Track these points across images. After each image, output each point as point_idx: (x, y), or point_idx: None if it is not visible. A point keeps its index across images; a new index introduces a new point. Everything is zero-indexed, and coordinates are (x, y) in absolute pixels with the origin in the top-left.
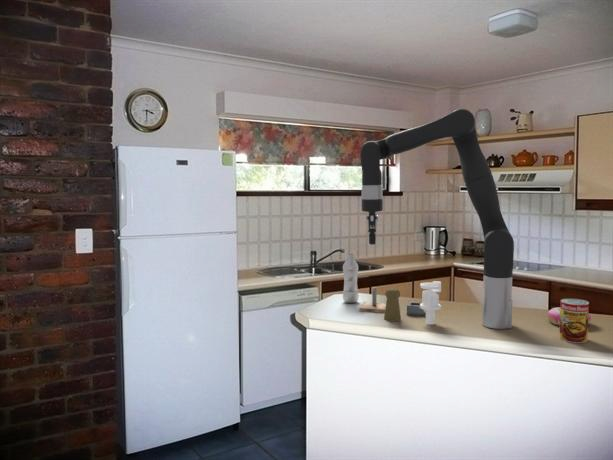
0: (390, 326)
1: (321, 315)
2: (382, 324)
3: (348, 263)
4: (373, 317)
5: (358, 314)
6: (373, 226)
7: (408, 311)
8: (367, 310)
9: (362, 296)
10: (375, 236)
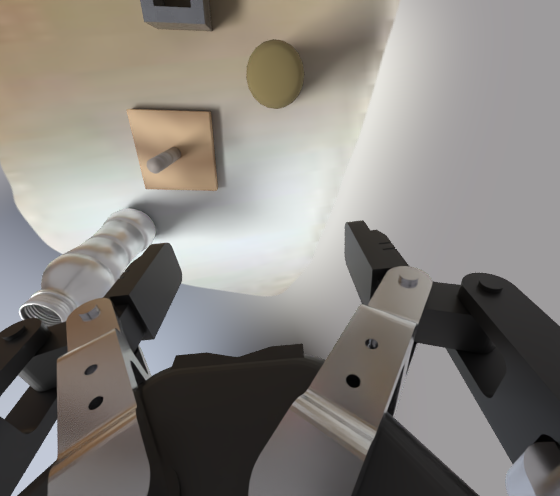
0: (356, 77)
1: (281, 258)
2: (338, 105)
3: (92, 295)
4: (271, 141)
5: (251, 184)
6: (408, 356)
7: (209, 21)
8: (215, 166)
9: (50, 205)
10: (151, 263)
